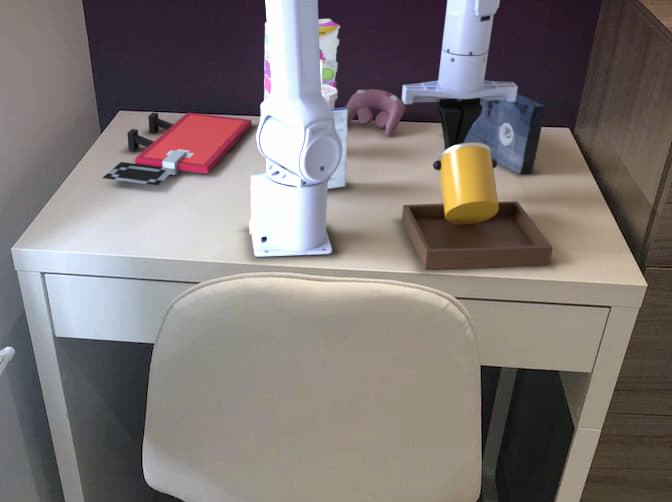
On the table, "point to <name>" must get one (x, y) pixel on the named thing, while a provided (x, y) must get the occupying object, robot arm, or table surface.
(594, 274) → the table surface
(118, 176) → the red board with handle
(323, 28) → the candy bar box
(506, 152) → the vhs cassette tape
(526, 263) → the tray
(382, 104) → the video game controller
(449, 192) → the pot
